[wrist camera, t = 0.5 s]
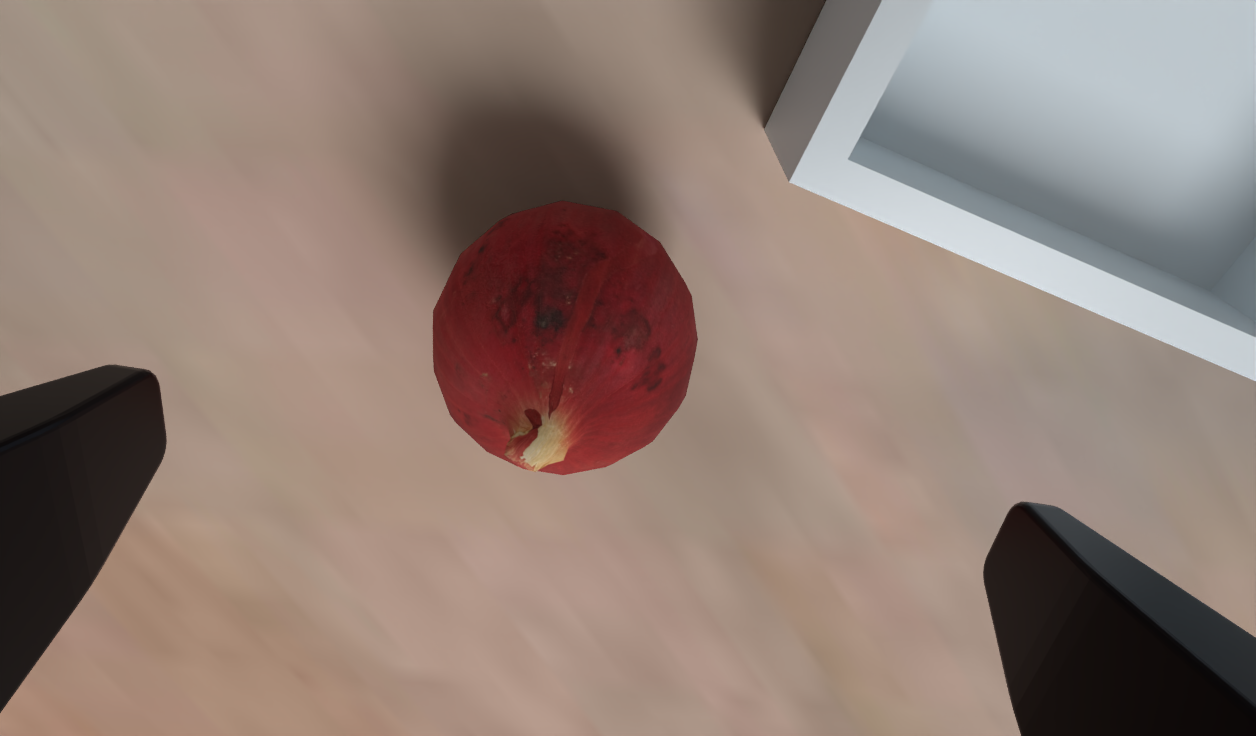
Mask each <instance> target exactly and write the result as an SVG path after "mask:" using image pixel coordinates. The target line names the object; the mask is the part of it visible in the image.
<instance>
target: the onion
mask: <svg viewBox="0 0 1256 736" xmlns="http://www.w3.org/2000/svg"><path fill="white" fill-rule="evenodd" d="M697 340H698V338H697V331H696V324H695V317H694V310H693V302H692V296H691V294H690V292H689V290H688V288H687V285H686V283H685V282H684V280H683V278H682V277H681V275H680V274H679V272H678V270H677V269H676V267H675V266H674V264H673V262H672V261H671V259H670V257H669V256H668V254H667V253H666V251H665V249H664V248H663V246H662V245H661V243H660V242H659V241H658V240H656V239H655V238H654V237H652V236H651V235H649V234H648V233H647V232H645V231H644V230H642V229H641V228H640V227H638V226H637V225H636V224H634V223H633V222H631V221H630V220H629V219H627V218H626V217H625V216H623V215H622V214H620V213H619V212H618V211H614V210H609V209H604V208H598V207H593V206H588V205H583V204H577V203H572V202H567V201H559V202H555V203H551V204H547V205H544V206H540V207H536V208H532V209H528V210H525V211H521V212H517V213H513V214H510V215H509V216H507V217H505V218H503V219H501V220H500V221H498V222H497V223H496V224H495V225H494V226H493V227H491V228H490V229H489V230H488V231H487V232H486V233H484V234H483V235H482V236H481V237H480V238H479V239H477V240H476V241H475V242H474V243H473V244H472V245H470V246H469V247H468V248H467V249H466V250H465V251H463V252H462V253H461V255H460V256H459V258H458V260H457V262H456V264H455V266H454V268H453V270H452V272H451V274H450V277H449V279H448V281H447V283H446V285H445V287H444V289H443V291H442V294H441V296H440V298H439V300H438V302H437V304H436V306H435V308H434V310H433V362H434V373H435V375H436V378H437V381H438V383H439V386H440V389H441V391H442V394H443V397H444V400H445V402H446V405H447V408H448V410H449V413H450V415H451V417H452V418H453V419H454V421H455V422H456V423H457V424H458V425H459V426H460V427H461V428H462V429H463V430H464V431H465V432H466V433H468V434H469V435H470V436H471V437H472V438H473V439H474V440H475V441H476V442H477V443H478V444H479V445H480V446H482V447H483V448H484V449H485V450H486V451H487V452H489V453H491V454H493V455H495V456H497V457H499V458H502V459H504V460H506V461H508V462H510V463H512V464H514V465H516V466H519V467H521V468H523V469H527V470H530V471H534V472H536V471H541V472H547V473H554V474H560V475H566V474H572V473H577V472H582V471H587V470H592V469H597V468H603V467H607V466H609V465H611V464H613V463H615V462H617V461H618V460H620V459H622V458H624V457H626V456H628V455H630V454H632V453H633V452H635V451H637V450H639V449H641V448H643V447H645V446H646V445H648V444H649V443H651V442H652V441H653V440H654V439H655V438H656V436H657V435H658V434H659V433H660V431H661V430H662V429H663V427H664V426H665V425H666V424H667V422H668V421H669V420H670V418H671V417H672V416H673V415H674V413H675V412H676V411H677V409H678V408H679V406H680V405H681V403H682V401H683V399H684V398H685V396H686V392H687V388H688V383H689V379H690V375H691V370H692V366H693V362H694V357H695V352H696V346H697Z"/></svg>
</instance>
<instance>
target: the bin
mask: <svg viewBox="0 0 1256 736" xmlns="http://www.w3.org/2000/svg"><path fill="white" fill-rule="evenodd" d="M764 131H765V133H766V135H767V137H768V139H769V141H770V143H771V145H772V147H773V150H774V152H775V154H776V156H777V158H778V160H779V162H780V164H781V166H782V168H783V170H784V173H785V175H786V177H787V179H788V181H789V182H790V183H792V184H795V185H797V186H799V187H802V188H804V189H806V190H809V191H811V192H813V193H816V194H818V195H820V196H823V197H825V198H827V199H830V200H832V201H834V202H837V203H839V204H841V205H844V206H846V207H849V208H851V209H853V210H856V211H858V212H860V213H863V214H865V215H867V216H870V217H872V218H874V219H877V220H879V221H881V222H884V223H886V224H888V225H891V226H893V227H895V228H898V229H900V230H902V231H905V232H907V233H909V234H912V235H914V236H917V237H919V238H921V239H924V240H926V241H928V242H931V243H933V244H935V245H938V246H940V247H942V248H945V249H947V250H949V251H952V252H954V253H956V254H959V255H961V256H963V257H966V258H968V259H970V260H973V261H975V262H977V263H980V264H982V265H984V266H987V267H989V268H992V269H994V270H996V271H999V272H1001V273H1003V274H1006V275H1008V276H1010V277H1013V278H1015V279H1017V280H1020V281H1022V282H1024V283H1027V284H1029V285H1031V286H1034V287H1036V288H1038V289H1041V290H1043V291H1045V292H1048V293H1050V294H1052V295H1055V296H1057V297H1060V298H1062V299H1064V300H1067V301H1069V302H1071V303H1074V304H1076V305H1078V306H1081V307H1083V308H1085V309H1088V310H1090V311H1092V312H1095V313H1097V314H1099V315H1102V316H1104V317H1106V318H1109V319H1111V320H1113V321H1116V322H1118V323H1120V324H1123V325H1125V326H1127V327H1130V328H1132V329H1135V330H1137V331H1139V332H1142V333H1144V334H1146V335H1149V336H1151V337H1153V338H1156V339H1158V340H1160V341H1163V342H1165V343H1167V344H1170V345H1172V346H1174V347H1177V348H1179V349H1181V350H1184V351H1186V352H1188V353H1191V354H1193V355H1195V356H1198V357H1200V358H1203V359H1205V360H1207V361H1210V362H1212V363H1214V364H1217V365H1219V366H1221V367H1224V368H1226V369H1228V370H1231V371H1233V372H1235V373H1238V374H1240V375H1242V376H1245V377H1247V378H1249V379H1252V380H1254V381H1256V0H826V2H825V4H824V6H823V8H822V10H821V12H820V15H819V17H818V19H817V21H816V23H815V25H814V27H813V29H812V31H811V33H810V35H809V37H808V39H807V42H806V44H805V46H804V48H803V50H802V52H801V54H800V56H799V58H798V60H797V62H796V64H795V66H794V69H793V71H792V73H791V75H790V77H789V79H788V81H787V83H786V85H785V87H784V89H783V91H782V93H781V96H780V98H779V100H778V102H777V104H776V106H775V108H774V110H773V112H772V114H771V116H770V118H769V120H768V123H767V125H766V127H765V129H764Z"/></svg>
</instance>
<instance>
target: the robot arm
mask: <svg viewBox="0 0 1256 736" xmlns="http://www.w3.org/2000/svg"><path fill="white" fill-rule="evenodd" d="M166 441H167V440H166V429H165V422H164V415H163V407H162V400H161V392H160V386H159V382H158V379H157V377H156V376H155V375H154V374H153V373H152V372H151V371H149V370H146V369H140V368H134V367H127V366H120V365H105V366H102V367H98V368H95V369H91V370H88V371H84V372H81V373H78V374H74V375H71V376H67V377H64V378H60V379H57V380H54V381H50V382H47V383H43V384H40V385H36V386H33V387H30V388H26V389H23V390H19V391H16V392H12V393H9V394H6V395H2V396H0V713H1V711H2V710H3V709H4V707H5V706H6V704H7V703H8V702H9V700H10V699H11V697H12V696H13V695H14V693H15V692H16V690H17V689H18V688H19V686H20V685H21V683H22V682H23V681H24V679H25V678H26V676H27V675H28V674H29V672H30V671H31V670H32V668H33V667H34V665H35V664H36V663H37V661H38V660H39V658H40V657H41V656H42V654H43V653H44V651H45V650H46V649H47V647H48V646H49V644H50V643H51V642H52V640H53V639H54V637H55V636H56V635H57V633H58V632H59V631H60V629H61V628H62V626H63V625H64V624H65V622H66V621H67V619H68V618H69V617H70V615H71V614H72V612H73V611H74V610H75V608H76V607H77V605H78V604H79V602H80V601H81V600H82V598H83V597H84V595H85V594H86V592H87V591H88V589H89V588H90V586H91V585H92V583H93V582H94V580H95V578H96V577H97V575H98V573H99V572H100V570H101V569H102V567H103V565H104V564H105V562H106V560H107V558H108V556H109V555H110V553H111V551H112V549H113V548H114V546H115V544H116V542H117V540H118V539H119V537H120V535H121V533H122V531H123V530H124V528H125V526H126V524H127V523H128V521H129V519H130V517H131V515H132V514H133V512H134V510H135V508H136V507H137V505H138V503H139V501H140V499H141V498H142V496H143V494H144V492H145V491H146V489H147V487H148V485H149V483H150V482H151V480H152V478H153V476H154V474H155V473H156V471H157V469H158V467H159V466H160V464H161V462H162V460H163V457H164V454H165V449H166ZM983 576H984V585H985V589H986V594H987V598H988V602H989V607H990V611H991V616H992V620H993V625H994V629H995V634H996V638H997V643H998V647H999V651H1000V656H1001V660H1002V665H1003V669H1004V674H1005V678H1006V683H1007V687H1008V691H1009V695H1010V699H1011V703H1012V707H1013V710H1014V714H1015V717H1016V720H1017V723H1018V727H1019V730H1020V733H1021V736H1256V638H1255V637H1254V636H1252V635H1251V634H1249V633H1248V632H1246V631H1245V630H1243V629H1242V628H1240V627H1239V626H1237V625H1236V624H1234V623H1233V622H1231V621H1230V620H1228V619H1227V618H1225V617H1224V616H1222V615H1221V614H1219V613H1218V612H1216V611H1215V610H1213V609H1212V608H1210V607H1209V606H1207V605H1206V604H1204V603H1202V602H1201V601H1199V600H1198V599H1196V598H1195V597H1193V596H1192V595H1190V594H1189V593H1187V592H1186V591H1184V590H1183V589H1181V588H1180V587H1178V586H1177V585H1175V584H1174V583H1172V582H1171V581H1169V580H1168V579H1166V578H1165V577H1163V576H1162V575H1160V574H1159V573H1157V572H1156V571H1154V570H1153V569H1151V568H1150V567H1148V566H1147V565H1145V564H1144V563H1142V562H1141V561H1139V560H1138V559H1136V558H1135V557H1133V556H1132V555H1130V554H1129V553H1127V552H1125V551H1124V550H1122V549H1121V548H1119V547H1118V546H1116V545H1115V544H1113V543H1112V542H1110V541H1109V540H1107V539H1106V538H1104V537H1103V536H1101V535H1100V534H1098V533H1097V532H1095V531H1094V530H1092V529H1091V528H1089V527H1088V526H1086V525H1085V524H1083V523H1082V522H1080V521H1079V520H1077V519H1076V518H1074V517H1073V516H1071V515H1070V514H1068V513H1067V512H1065V511H1064V510H1062V509H1060V508H1058V507H1055V506H1051V505H1045V504H1038V503H1031V502H1019V503H1017V504H1015V505H1014V506H1013V507H1012V508H1011V509H1010V510H1009V512H1008V514H1007V516H1006V518H1005V520H1004V522H1003V524H1002V526H1001V528H1000V530H999V532H998V534H997V536H996V538H995V540H994V543H993V545H992V547H991V549H990V551H989V553H988V555H987V557H986V560H985V564H984V571H983Z"/></svg>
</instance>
